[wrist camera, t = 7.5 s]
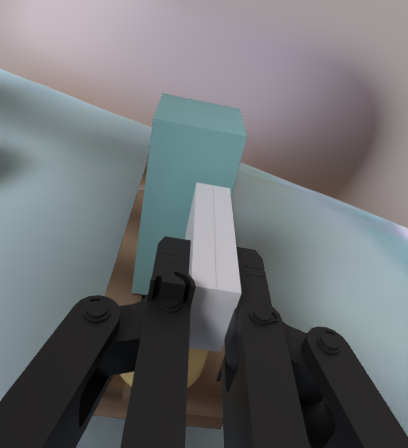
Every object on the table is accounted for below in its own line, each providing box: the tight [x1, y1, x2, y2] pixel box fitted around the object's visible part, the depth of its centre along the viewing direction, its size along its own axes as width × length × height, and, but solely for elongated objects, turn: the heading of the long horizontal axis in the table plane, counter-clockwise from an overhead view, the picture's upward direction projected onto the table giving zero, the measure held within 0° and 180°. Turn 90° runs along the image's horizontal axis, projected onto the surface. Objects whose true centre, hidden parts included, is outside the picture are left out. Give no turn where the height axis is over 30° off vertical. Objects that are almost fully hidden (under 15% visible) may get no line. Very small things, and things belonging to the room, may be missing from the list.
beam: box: [93, 155, 225, 429], centre depth 28 cm, size 26×7×6 cm, turn 0°
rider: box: [132, 94, 247, 295], centre depth 20 cm, size 4×4×12 cm
